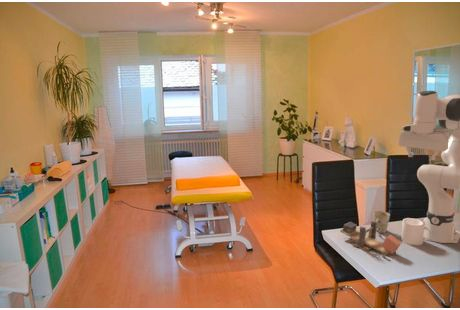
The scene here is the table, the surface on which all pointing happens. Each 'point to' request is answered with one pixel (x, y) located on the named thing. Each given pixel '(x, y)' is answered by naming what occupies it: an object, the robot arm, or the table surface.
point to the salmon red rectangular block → (391, 244)
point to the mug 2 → (414, 231)
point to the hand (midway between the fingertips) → (421, 158)
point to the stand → (361, 242)
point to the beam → (351, 231)
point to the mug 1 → (381, 221)
